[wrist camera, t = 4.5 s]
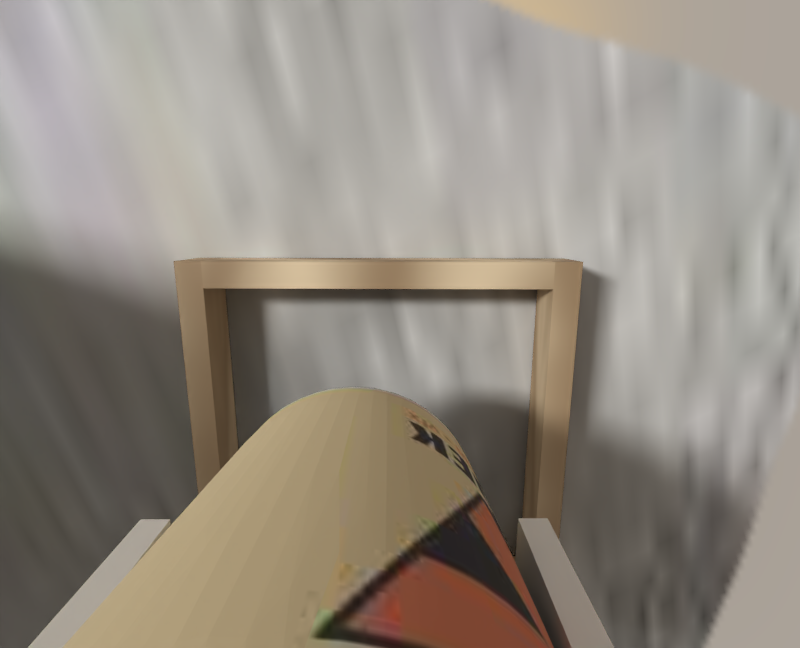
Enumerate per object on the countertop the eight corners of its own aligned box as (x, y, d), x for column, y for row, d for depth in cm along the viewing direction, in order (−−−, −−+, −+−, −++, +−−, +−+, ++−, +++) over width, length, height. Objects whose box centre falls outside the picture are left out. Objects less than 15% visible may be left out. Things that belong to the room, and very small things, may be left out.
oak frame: (227, 570, 21) (209, 605, 19) (198, 257, 18) (174, 261, 16) (539, 574, 21) (552, 609, 19) (563, 258, 18) (582, 262, 16)
